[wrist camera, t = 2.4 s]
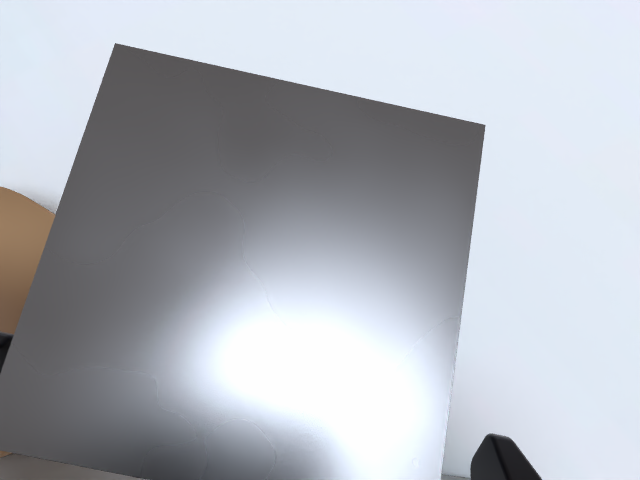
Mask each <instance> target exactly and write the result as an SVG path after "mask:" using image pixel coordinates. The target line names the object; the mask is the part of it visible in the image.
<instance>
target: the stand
mask: <svg viewBox="0 0 640 480" xmlns="http://www.w3.org/2000/svg"><path fill="white" fill-rule="evenodd" d="M54 218H55V214H54V213H52V212H50V211H49V210H47V209H45V208H44V207H42V206H41V205H39V204H37V203H36V202H34V201H32V200H31V199H29V198H27V197H26V196H24V195H21V194H19V193H17V192H14V191H12V190H10V189H7V188H4V187H0V331H1V332H6V333H11V334H14V333H15V330H16V327H17V324H18V321H19V319H20V316H21V313H22V310H23V307H24V304H25V301H26V298H27V296H28V293H29V290H30V287H31V284H32V281H33V278H34V275H35V273H36V270H37V267H38V264H39V261H40V258H41V255H42V252H43V250H44V247H45V244H46V241H47V238H48V235H49V232H50V229H51V227H52V224H53V221H54ZM9 454H12V453H10V452H5V451H0V458H1V457H4V456H6V455H9Z"/></svg>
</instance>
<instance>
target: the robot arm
mask: <svg viewBox="0 0 640 480" xmlns="http://www.w3.org/2000/svg"><path fill="white" fill-rule="evenodd" d="M13 336H14V334H11V333H6V332H1V331H0V373H1V370H2V367H3V365H4V362H5V359H6V356H7V353H8V350H9V347H10V344H11V342H12V339H13ZM470 470H471V480H542V479H541V477H540V476H539V475H538V473H537V472H536V471H535V469H534V468H533V467H532V465H531V464H530V463H529V461H528V460H527V459H526V457H525V456H524V455H523V453H522V452H521V451H520V449H519V448H518V447H517V445H516V444H515V443H514V441H513V440H512V439H510V438H509V437H506V436H502V435H497V434H488V435H486V437H485V438H484V440H483V441H482V443H481V445H480V446H479V448H478V450H477V451H476V453H475V455H474V456H473V459H472V462H471V469H470Z"/></svg>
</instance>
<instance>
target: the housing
mask: <svg viewBox="0 0 640 480" xmlns="http://www.w3.org/2000/svg"><path fill="white" fill-rule="evenodd" d="M484 132H485V125H483V124H479V123H474V122H469V121H465V120H460V119H456V118H451V117H447V116H442V115H438V114H433V113H429V112H424V111H420V110H415V109H411V108H406V107H401V106H397V105H392V104H388V103H383V102H379V101H374V100H370V99H365V98H361V97H356V96H352V95H347V94H343V93H338V92H334V91H329V90H324V89H320V88H315V87H311V86H306V85H302V84H297V83H293V82H288V81H284V80H279V79H275V78H270V77H266V76H261V75H257V74H252V73H247V72H243V71H238V70H234V69H229V68H225V67H220V66H216V65H211V64H207V63H202V62H198V61H193V60H189V59H184V58H179V57H175V56H170V55H166V54H161V53H157V52H152V51H148V50H143V49H139V48H134V47H130V46H125V45H121V44H116V43H115V45H114V48H113V51H112V54H111V57H110V60H109V63H108V65H107V68H106V71H105V74H104V77H103V80H102V83H101V86H100V88H99V91H98V94H97V97H96V100H95V103H94V106H93V109H92V111H91V114H90V117H89V120H88V123H87V126H86V129H85V132H84V134H83V137H82V140H81V143H80V146H79V149H78V152H77V155H76V157H75V160H74V163H73V166H72V169H71V172H70V175H69V178H68V180H67V183H66V186H65V189H64V192H63V195H62V198H61V201H60V204H59V206H58V209H57V212H56V215H55V218H54V221H53V224H52V227H51V229H50V232H49V235H48V238H47V241H46V244H45V247H44V250H43V252H42V255H41V258H40V261H39V264H38V267H37V270H36V273H35V275H34V278H33V281H32V284H31V287H30V290H29V293H28V296H27V298H26V301H25V304H24V307H23V310H22V313H21V316H20V319H19V321H18V324H17V327H16V330H15V333H14V336H13V339H12V342H11V344H10V347H9V350H8V353H7V356H6V359H5V362H4V365H3V367H2V370H1V373H0V451H5V452H10V453H15V454H20V455H26V456H31V457H36V458H41V459H46V460H51V461H56V462H61V463H66V464H71V465H76V466H81V467H86V468H92V469H97V470H102V471H107V472H112V473H117V474H122V475H127V476H132V477H137V478H142V479H147V480H440V479H441V472H442V464H443V456H444V448H445V440H446V432H447V424H448V416H449V408H450V400H451V393H452V385H453V377H454V369H455V361H456V353H457V345H458V337H459V329H460V322H461V314H462V306H463V298H464V290H465V282H466V274H467V266H468V258H469V251H470V243H471V235H472V227H473V219H474V211H475V203H476V195H477V187H478V180H479V172H480V164H481V156H482V148H483V140H484Z"/></svg>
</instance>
